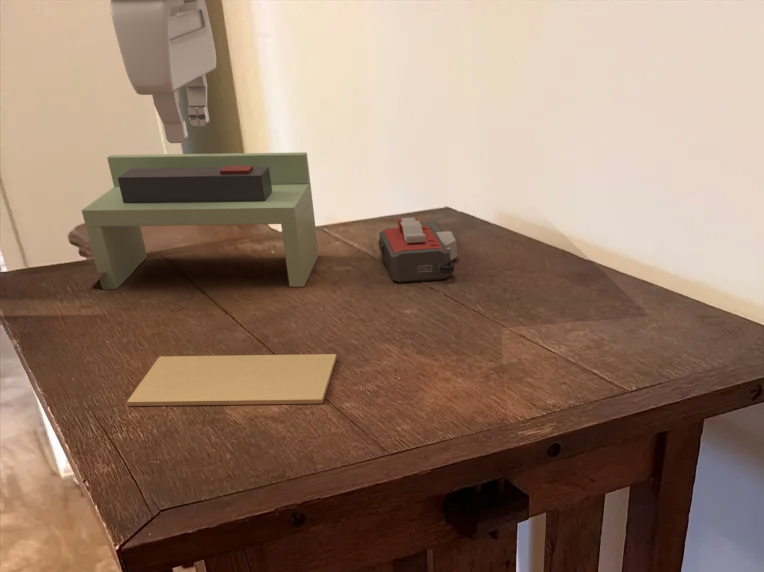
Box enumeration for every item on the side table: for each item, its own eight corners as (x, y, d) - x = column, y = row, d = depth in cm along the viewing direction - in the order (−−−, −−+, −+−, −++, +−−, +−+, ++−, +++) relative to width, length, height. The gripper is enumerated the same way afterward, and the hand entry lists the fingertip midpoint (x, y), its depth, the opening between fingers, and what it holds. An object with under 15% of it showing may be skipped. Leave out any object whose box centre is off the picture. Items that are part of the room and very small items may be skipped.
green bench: (102, 289, 99) (73, 178, 92) (134, 257, 109) (110, 154, 102) (304, 286, 99) (290, 175, 92) (318, 255, 109) (307, 152, 102)
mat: (127, 406, 75) (126, 401, 74) (160, 360, 83) (159, 356, 82) (322, 403, 75) (322, 399, 74) (337, 358, 83) (336, 353, 82)
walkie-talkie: (472, 281, 100) (441, 234, 115) (471, 238, 97) (439, 196, 113) (392, 287, 99) (372, 238, 114) (389, 244, 96) (369, 200, 111)
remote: (123, 203, 96) (116, 174, 95) (135, 193, 100) (129, 165, 98) (265, 201, 96) (260, 172, 95) (272, 191, 100) (268, 163, 98)
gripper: (154, -36, 94) (184, 117, 103) (88, -28, 78) (130, 153, 86) (215, -38, 94) (240, 115, 102) (162, -30, 78) (197, 151, 86)
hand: (189, 133), depth 94 cm, fingers open, 8 cm apart
